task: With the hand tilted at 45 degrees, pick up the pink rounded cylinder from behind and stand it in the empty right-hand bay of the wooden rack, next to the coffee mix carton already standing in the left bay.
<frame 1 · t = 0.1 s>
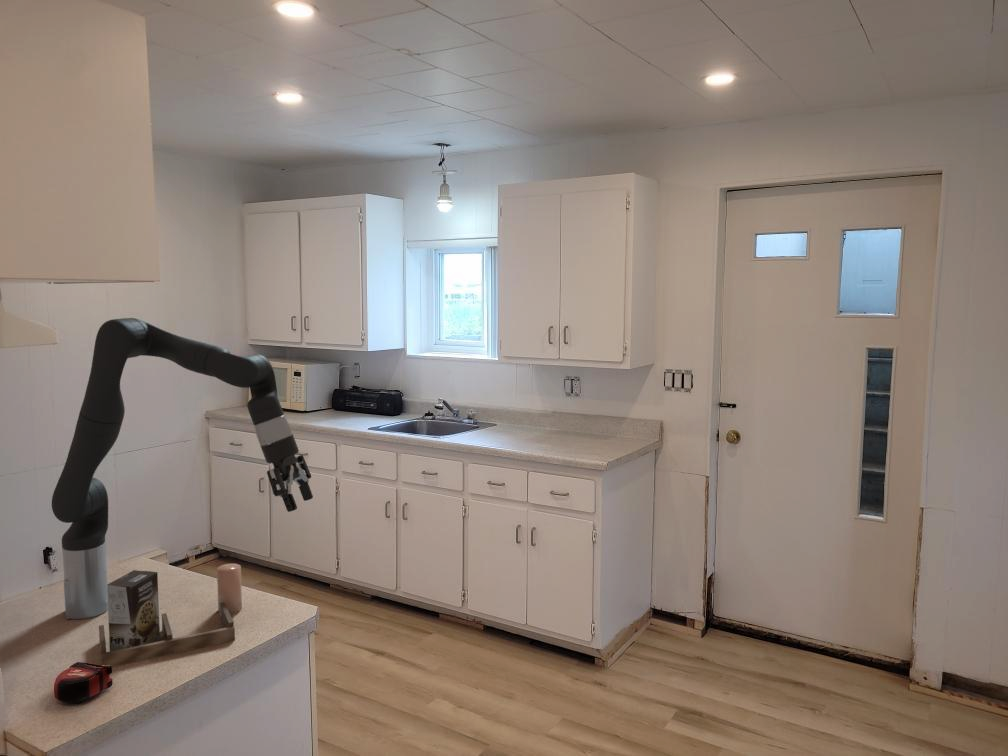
hand: (300, 504, 171), 31 cm above the counter, tool tilted 20°, fingers open, 8 cm apart
coffee box: (135, 646, 168), resting in wooden rack
wooden rack: (197, 634, 174), on the counter
pink rounded cylinder: (230, 609, 187), on the counter
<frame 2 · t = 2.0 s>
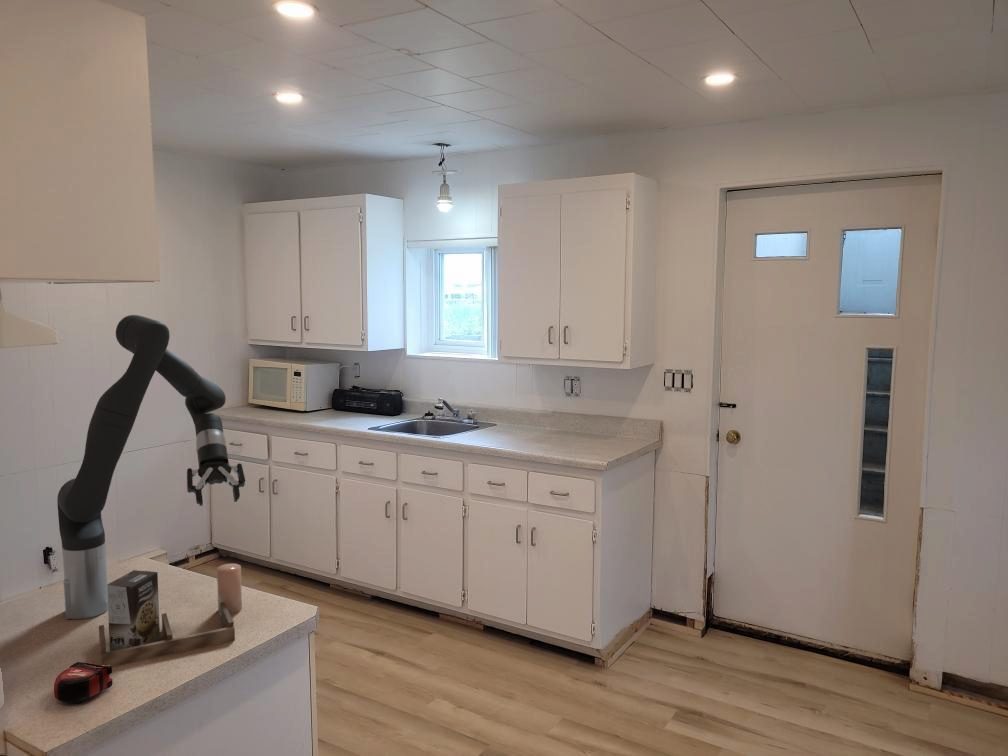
hand: (218, 502, 194), 25 cm above the counter, tool tilted 45°, fingers open, 8 cm apart
nothing on the counter moved.
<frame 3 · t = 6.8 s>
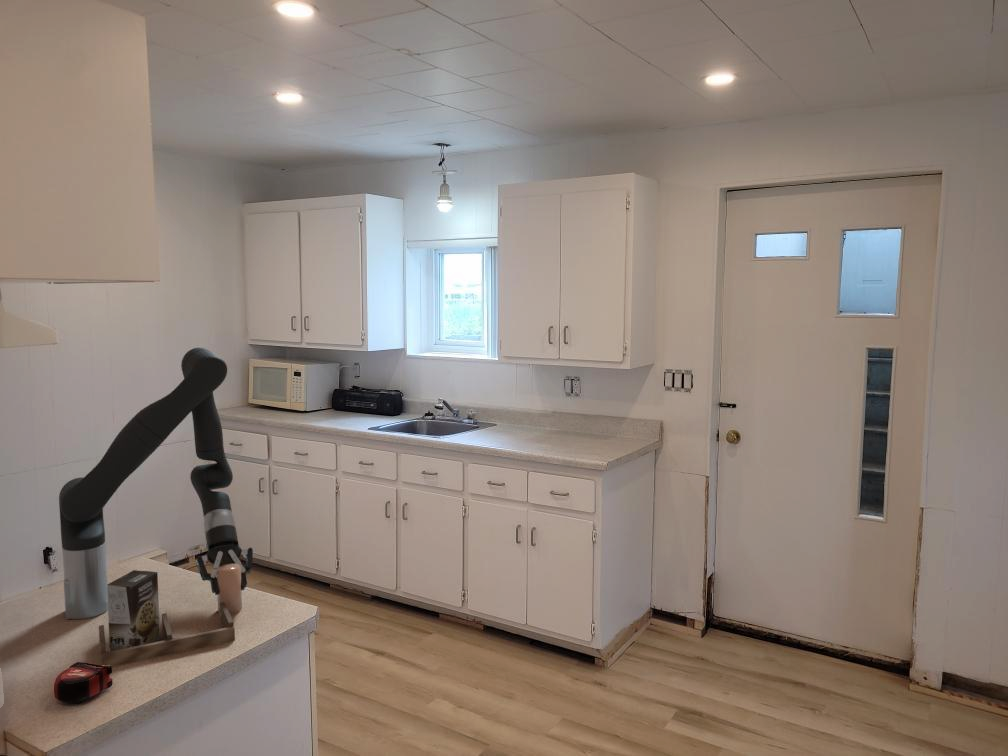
hand: (230, 591, 186), 5 cm above the counter, tool tilted 45°, fingers closed on pink rounded cylinder, 5 cm apart
pink rounded cylinder: (230, 609, 187), on the counter, touching gripper
everything else where it was.
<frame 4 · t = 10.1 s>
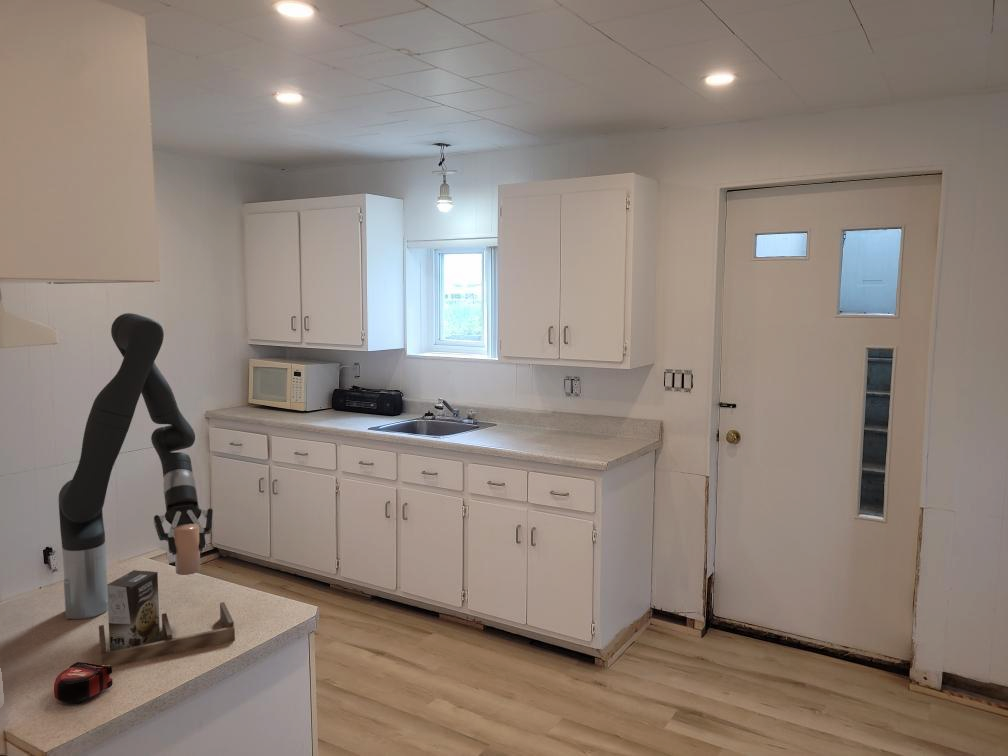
hand: (188, 551, 182), 16 cm above the counter, tool tilted 45°, fingers closed on pink rounded cylinder, 5 cm apart
pink rounded cylinder: (188, 570, 184), point 11 cm above the counter, touching gripper
everything else where it was.
when the fingers open (6 cm above the counter, at t = 13.7 s): pink rounded cylinder drops 1 cm, resting in wooden rack.
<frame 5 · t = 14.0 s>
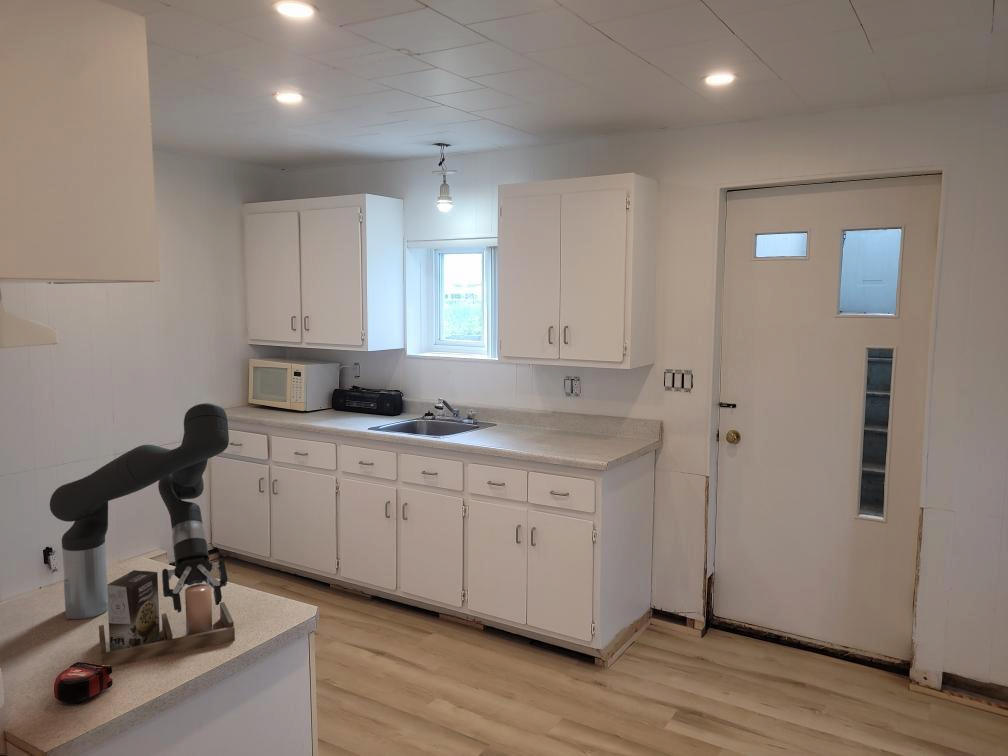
hand: (199, 607, 173), 7 cm above the counter, tool tilted 45°, fingers open, 8 cm apart
pink rounded cylinder: (199, 633, 174), resting in wooden rack
everything else where it was.
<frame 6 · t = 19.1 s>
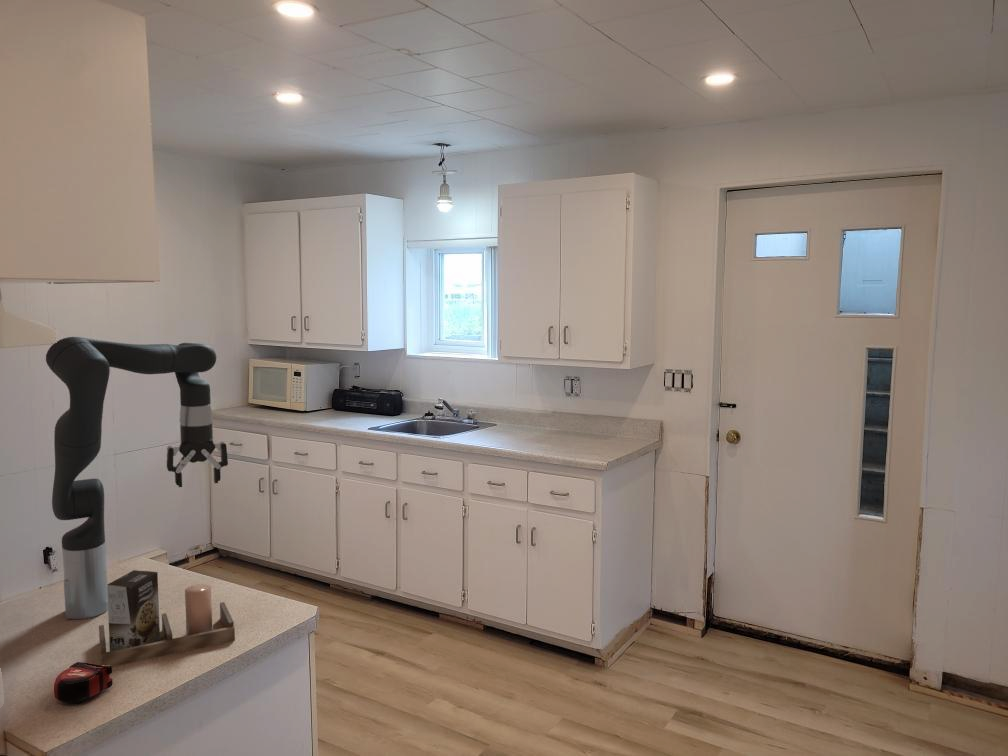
hand: (198, 484, 190), 30 cm above the counter, tool pointing down, fingers open, 8 cm apart
nothing on the counter moved.
at the end: pink rounded cylinder inside the target area on the wooden rack (0.4 cm from its centre), point 0.0 cm above the wooden rack's base; pink rounded cylinder tilted 0°; the gripper is holding nothing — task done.
